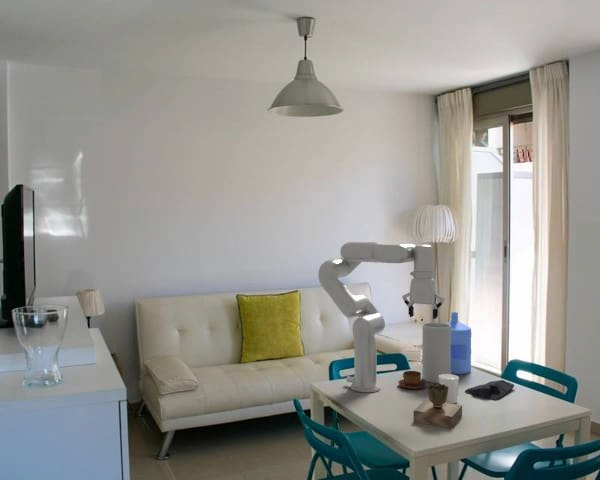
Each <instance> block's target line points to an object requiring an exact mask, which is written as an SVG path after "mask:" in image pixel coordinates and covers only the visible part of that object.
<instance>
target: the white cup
mask: <svg viewBox="0 0 600 480" xmlns="http://www.w3.org/2000/svg"><path fill="white" fill-rule="evenodd" d="M459 381H460V377H459V376H458V375H457V374H441V375H439V383H438V385H439V384H441V385H443V384H444V385H445V386H447V387H448V395H447V400H446V402H445V403H450V404H457V403H458V395H459Z"/></svg>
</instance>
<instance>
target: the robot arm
mask: <svg viewBox="0 0 600 480" xmlns="http://www.w3.org/2000/svg"><path fill="white" fill-rule="evenodd" d="M433 249H434V248H433V246H432V245H430V244H413V243H403V244H401V243H399V244H379V243H378V242H372V241H371V242H363V241H349V242H346V243H344V244H343V245H341V247H340V251H339V252H340V256H341V257H340V258H333V259H328V260H325V261H324V262H323V263H321V265H320V266H319V270H318V273H317V274H318V276H317V277H318V280H319V283H320V286H321V287H322V288H323V290H324V291H325V293H327V295H328V296H329V297H330V298H331V300H332V302H333V303H334V304H335V306H337V308H338V309H339V311H340V312H341V313H342V314H343V316H344V317H346V318H347V319H352V318H353V319H354V318H356V317H357V318H356V319H355V320H354V322H353V323H352V326H351V327H352V330H351V331H352V337H353V344H354V345H353V346H354V351H353V352H354V363H353V364H354V368H353V369H354V370H353V371H354V376H349V375H347V376H346V377H345V378H346V379H345V380H346V382H347V383H352V384H351V385H350V389H351V390H352V391H355V392H359V393H375V392H378V391H380V390H381V385H380V384H378V383H377V381H378V380H377V377H378V376H377V372H378V371H377V367H378V366H377V363H378V362H377V361H378V360H377V357H378V356H377V354H378V353H377V352H378V351H377V342H376V338H375V336H376V335H379V334H382V333H383V331H384V330H385V328H386V321H385V319H384V316H383V315H382V314H381V313H380V311H379V310H378V309H377V308H376V306H375V305H374V303H372V301H371V300H370V299H369V298H368V297H367V296H366V295H363V294H360V293H358V294H357V293H355V294H354V293H352V292H351V291H350V289H349V288H348V287H347V285H345V283H343V282H342V281H341V280H340V279H339V278H344V277H347V276H349V275H350V274H351V273H352V272H353V271H354V270H355V269H356V268H357V267H358V266H360V264H361V263H375V264H376V263H383V264H405V263H410V262H411V263H412V262H413V271H411V272H410V274H409V275H410V276H412V278H411V281H410V285H409V286H410V287H409V292H408V293H406V294H404V295H402V296H401V297H402V300H403V302H404V303H405V305H406V306H407V308H408V315H409V318H412V317H414V314H415V312H414V309H415V308H414V305H415V304H416V305H431V306H432V307H433V309H432V320H436V319H437V318H438V315H439V309H440V307H441V306H442V305H443V303H444V301H446V300H445V297H443V296H441V295H440V294H438V293H437V286H436V281H435V279H434V277H433V276H434V273H433V272H434V269H433V267H434V263H433V262H434V250H433ZM408 297H409V300H408ZM437 299H438V300H439V302H438V303H437Z"/></svg>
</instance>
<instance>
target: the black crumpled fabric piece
mask: <svg viewBox="0 0 600 480" xmlns="http://www.w3.org/2000/svg"><path fill="white" fill-rule="evenodd" d="M514 387H515V384H513V383H511V382H508V381H506V380H504V379H500V380H495V381H494V380H491V381H489V382H487V383H484V384H479V385H475V386H472V387H470V388H466V389H465V391H464V393H465V394H466V395H469V396H474V397H477V398H481V399H485V400H486V399H487V400H493V401H497V400H499V399H501V398H503V397H504V396H505V395H506V394H508V393H509V392H510V391H511V390H513V389H514Z"/></svg>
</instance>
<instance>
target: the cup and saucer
mask: <svg viewBox="0 0 600 480" xmlns="http://www.w3.org/2000/svg"><path fill="white" fill-rule="evenodd" d="M402 378H403V379H400V380H398V385H399V386H400V387H402V388H405V389H411V390H418V389H419V390H420V389H422V388H425V387H426V385H427V381H425V380H423V379H421V378H422V373H421V372H420V371H417V370H406V371H404V372H403V373H402Z"/></svg>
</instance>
